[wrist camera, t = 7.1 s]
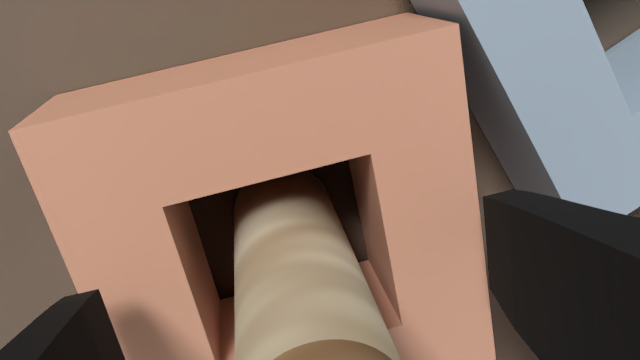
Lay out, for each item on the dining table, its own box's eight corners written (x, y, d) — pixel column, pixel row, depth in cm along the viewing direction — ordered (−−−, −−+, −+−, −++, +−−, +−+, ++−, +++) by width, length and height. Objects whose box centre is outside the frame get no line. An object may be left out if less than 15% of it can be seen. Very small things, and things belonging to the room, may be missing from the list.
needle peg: (326, 159, 14) (441, 382, 6) (333, 247, 15) (443, 539, 7) (227, 171, 14) (221, 419, 6) (240, 260, 14) (249, 577, 7)
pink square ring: (407, 12, 13) (458, 23, 10) (448, 302, 16) (497, 372, 13) (55, 95, 12) (8, 131, 10) (167, 381, 15) (155, 472, 12)
